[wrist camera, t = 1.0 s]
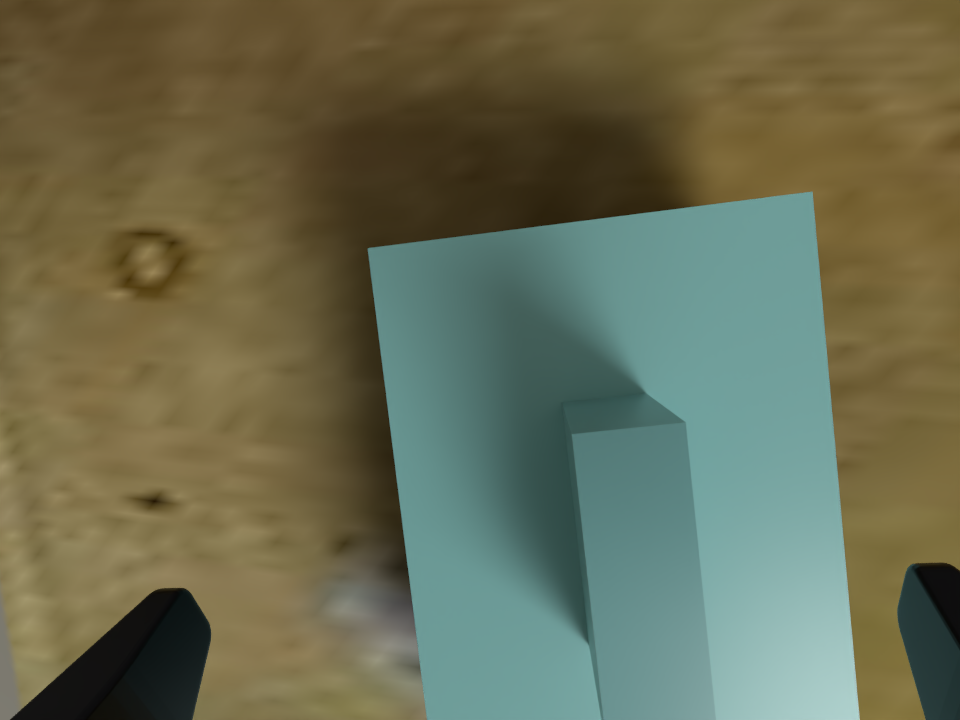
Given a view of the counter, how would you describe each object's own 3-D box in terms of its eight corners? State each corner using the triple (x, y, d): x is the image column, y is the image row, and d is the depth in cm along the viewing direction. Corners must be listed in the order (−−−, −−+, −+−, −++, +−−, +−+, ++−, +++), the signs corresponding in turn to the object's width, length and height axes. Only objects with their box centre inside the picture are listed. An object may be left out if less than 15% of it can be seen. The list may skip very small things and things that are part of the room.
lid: (827, 737, 20) (980, 958, 13) (449, 763, 21) (410, 983, 14) (778, 205, 19) (914, 149, 12) (386, 255, 20) (311, 227, 13)
